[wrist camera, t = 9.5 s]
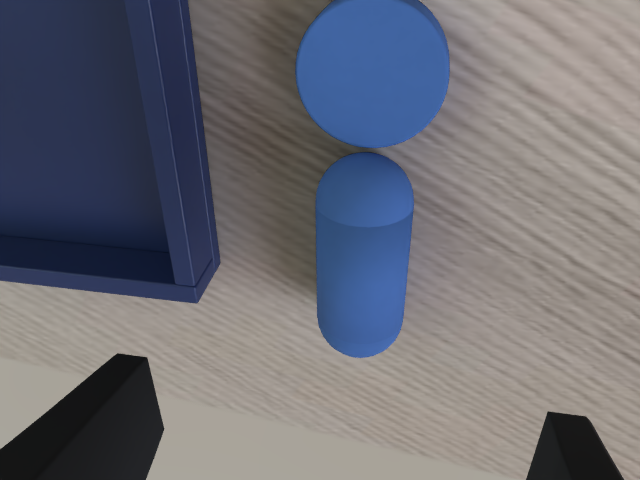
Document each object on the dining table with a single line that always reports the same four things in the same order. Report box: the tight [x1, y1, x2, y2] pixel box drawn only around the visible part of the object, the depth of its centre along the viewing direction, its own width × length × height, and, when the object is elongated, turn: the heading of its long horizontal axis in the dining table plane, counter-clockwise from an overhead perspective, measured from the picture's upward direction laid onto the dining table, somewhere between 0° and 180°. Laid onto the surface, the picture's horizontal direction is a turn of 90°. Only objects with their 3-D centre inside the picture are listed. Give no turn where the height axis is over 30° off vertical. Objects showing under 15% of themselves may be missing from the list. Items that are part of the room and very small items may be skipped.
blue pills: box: [295, 0, 449, 358], centre depth 14 cm, size 10×3×2 cm, turn 1°
